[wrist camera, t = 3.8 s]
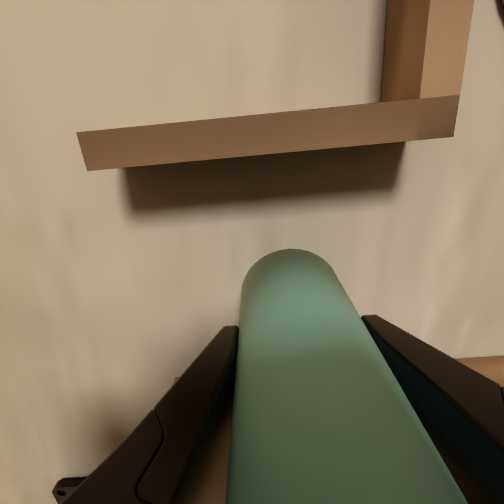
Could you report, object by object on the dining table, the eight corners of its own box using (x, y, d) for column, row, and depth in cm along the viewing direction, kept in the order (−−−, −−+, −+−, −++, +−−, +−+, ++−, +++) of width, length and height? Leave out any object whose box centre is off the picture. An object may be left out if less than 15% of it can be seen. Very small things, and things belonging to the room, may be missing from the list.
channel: (621, 364, 14) (695, 411, 12) (179, 392, 15) (165, 442, 12) (963, -354, 6) (1361, -626, 4) (32, -219, 7) (-72, -383, 5)
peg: (338, 330, 11) (499, 708, 4) (246, 337, 11) (233, 715, 4) (339, 244, 10) (585, 566, 3) (236, 253, 10) (188, 585, 3)
